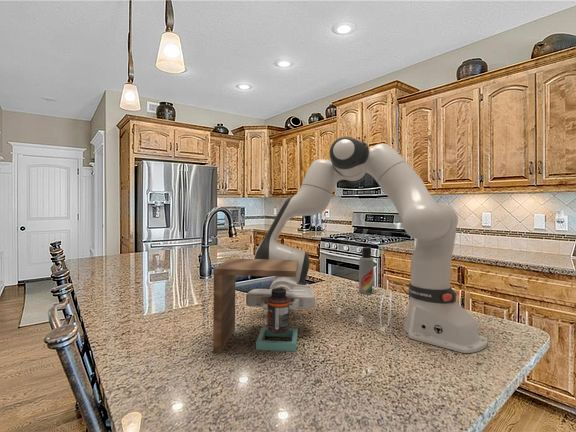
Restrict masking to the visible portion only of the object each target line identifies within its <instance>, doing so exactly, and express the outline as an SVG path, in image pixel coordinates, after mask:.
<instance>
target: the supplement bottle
mask: <svg viewBox="0 0 576 432" xmlns="http://www.w3.org/2000/svg"><path fill="white" fill-rule="evenodd" d="M271 294H272V295H271V297H269V299H268V309H267V328H268V330H269V331H270V332H273V333H284V332H287V331H288V330H289V329H290V310H289V298H288V297H287V296H285V295H286V289H283V288H274V289H272V293H271Z"/></svg>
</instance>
